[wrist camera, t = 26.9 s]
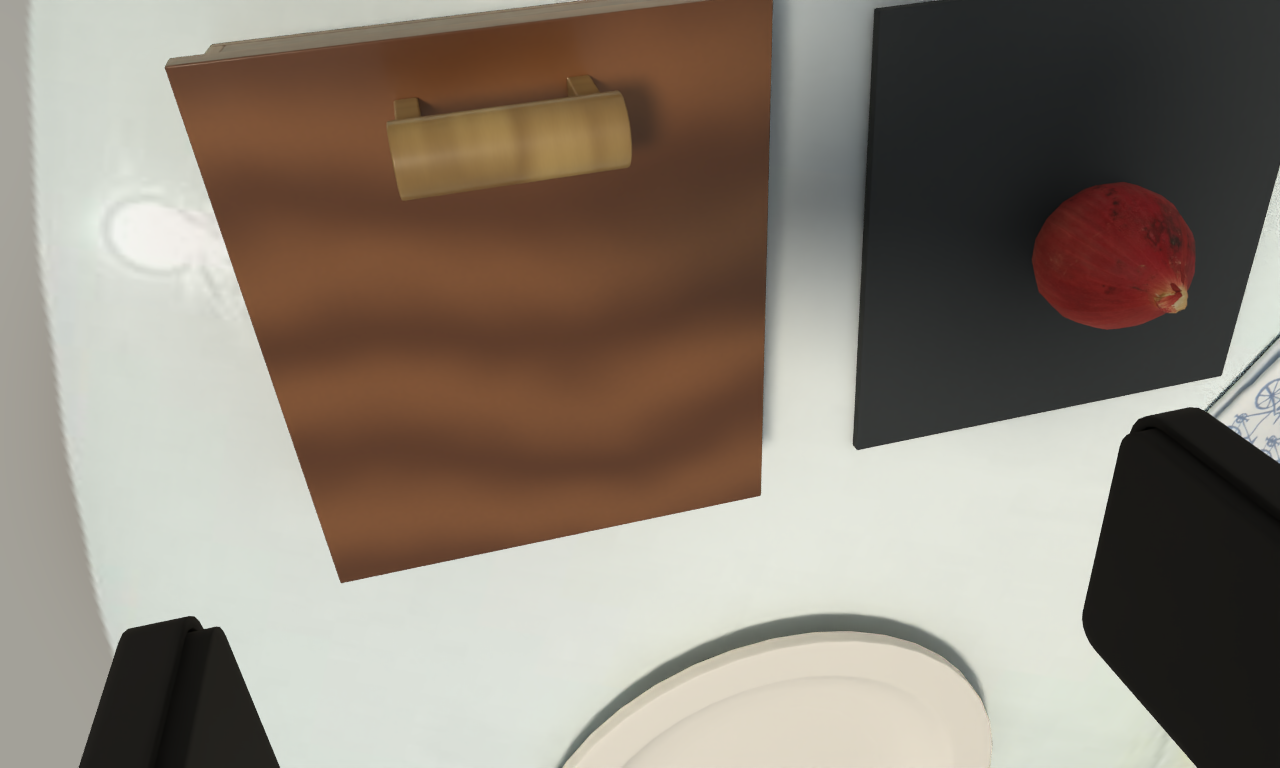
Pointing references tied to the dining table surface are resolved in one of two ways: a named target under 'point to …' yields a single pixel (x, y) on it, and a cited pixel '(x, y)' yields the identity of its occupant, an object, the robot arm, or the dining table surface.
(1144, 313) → the pomegranate
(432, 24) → the chest
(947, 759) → the plate
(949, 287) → the mat
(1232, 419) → the bicycle print napkins
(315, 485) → the lid
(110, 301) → the dining table surface
